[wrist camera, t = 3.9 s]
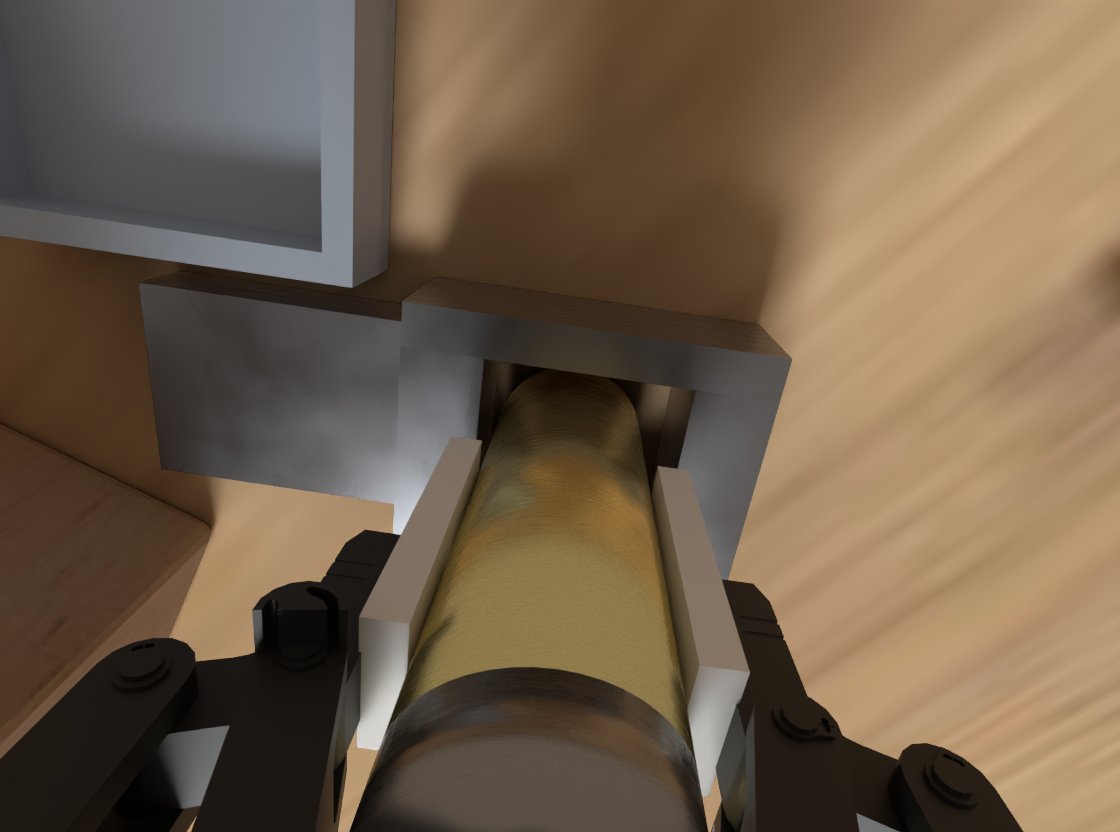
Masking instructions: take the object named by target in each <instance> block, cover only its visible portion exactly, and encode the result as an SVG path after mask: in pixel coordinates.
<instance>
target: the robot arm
mask: <svg viewBox="0 0 1120 832" xmlns="http://www.w3.org/2000/svg"><path fill="white" fill-rule="evenodd" d="M481 444H482V441H481V440H474V439H467V438H460V437H453V436H451V438H450V440H449V442H448V444H447V446H446V448H445V450H444V451H443V453H442V455H441V457H440V459H439V461H438V463H437V465H436V467H435V469H434V471H433V473H432V475H431V477H430V479H429V481H428V483H427V485H426V487H425V489H424V491H423V493H422V495H421V497H420V498H419V500H418V502H417V504H416V506H415V508H414V510H413V512H412V514H411V516H410V518H409V520H408V522H407V524H406V526H405V528H404V530H403V532H402V534H401V535H398V534H391V533H384V532H377V531H370V530H364V531H363V532H361V533H360V534H358V535H357V536H355V537H354V538H352V539H351V540H349V541H348V542H346V543H345V545H344V546H343V548H342V550H341V551H340V553H339V554H338V556H337V557H336V559H335V563H333V564H332V565H331V567H330V568H329V570H328V571H327V573H326V577H325V576H324V577H323V579H322V581H321V582H313V581H305V582H296V583H290V584H287V585H285V586H282V587H279V588H276V589H274V590H272V591H271V592H269V593H268V594H267V595H265V596H264V597H262V598H261V599H260V600H259V602H258V603H257V604H256V606H255V607H254V609H253V610H252V611H253V626H254V641H255V653H252V654H249V655H245V656H239V657H234V658H225V659H216V660H207V661H197V662H196V660H195V652H194V651H193V650H192V649H191V648H190V647H189V645H188V644H187V643H185V642H182V641H179V640H176V639H173V638H151V639H146V640H142V641H137V642H133V643H130V644H128V645H126V646H124V647H122V648H119V649H117V650H115V651H113V652H111V653H110V654H109V655H107V656H106V657H105V658H103V659H102V660H101V661H99V662H98V663H97V664H96V665H95V666H94V667H93V668H92V669H91V670H90V671H89V672H88V673H87V674H86V675H85V676H84V677H82V678H81V679H80V680H79V681H78V682H77V683H76V684H75V685H74V686H73V687H72V688H71V689H70V690H69V691H68V692H67V693H66V694H65V695H64V696H63V697H62V698H61V699H60V700H59V701H58V702H57V703H56V704H55V705H54V706H53V707H52V708H51V709H50V710H49V711H48V712H47V713H46V714H45V715H44V716H43V717H42V718H41V719H40V720H39V721H38V722H37V723H36V724H35V725H34V726H33V727H32V728H31V729H30V730H29V731H28V732H27V733H26V734H25V735H24V736H23V737H22V738H21V739H20V740H19V741H18V742H17V743H16V744H15V745H14V746H13V747H12V748H11V749H10V750H9V751H8V752H7V753H6V754H5V755H4V756H3V757H2V758H1V759H0V832H187V830H188V829H189V827H190V825H191V824H192V822H193V821H194V819H195V817H196V816H197V817H196V820H195V823H194V826H193V828H192V831H191V832H338V826H339V819H340V813H341V806H342V799H343V793H344V786H345V779H346V773H347V750H348V748H349V745H350V743H351V740H352V738H353V735H354V733H355V731H356V728H357V747H358V748H366V749H373V750H379V749H380V746H381V743H382V740H383V737H384V735H385V732H386V729H387V726H388V724H389V721H390V718H391V715H392V713H393V710H394V707H395V704H396V702H397V699H398V696H399V693H400V691H401V688H402V685H403V682H404V679H405V677H406V674H407V671H408V668H409V666H410V663H411V660H412V657H413V655H414V652H415V649H416V646H417V644H418V641H419V638H420V635H421V633H422V630H423V627H424V624H425V622H426V619H427V616H428V613H429V610H430V608H431V605H432V602H433V599H434V597H435V594H436V591H437V588H438V586H439V583H440V580H441V577H442V575H443V572H444V569H445V566H446V564H447V561H448V558H449V555H450V552H451V550H452V547H453V544H454V541H455V539H456V536H457V533H458V530H459V528H460V525H461V522H462V519H463V517H464V514H465V511H466V508H467V506H468V503H469V500H470V497H471V495H472V492H473V489H474V486H475V483H476V481H477V478H478V475H479V465H480V455H481ZM651 501H652V507H653V512H654V518H655V524H656V530H657V536H658V542H659V547H660V553H661V559H662V565H663V571H664V577H665V583H666V588H667V594H668V600H669V606H670V612H671V618H672V624H673V629H674V635H675V641H676V647H677V653H678V659H679V664H680V670H681V676H682V682H683V688H684V694H685V700H686V705H687V711H688V717H689V723H690V729H691V735H692V741H693V746H694V752H695V758H696V764H697V770H698V776H699V781H700V787H701V793H702V796H705V797H709V794H710V791H711V788H712V785H713V782H714V779H715V776H716V773H717V778H718V783H719V788H720V793H721V798H722V801H721V804H720V807H719V810H718V812H717V815H716V818H715V821H714V824H713V827H712V830H711V832H1023V830H1022V829H1021V827H1020V826H1019V824H1018V823H1017V821H1016V820H1015V818H1014V817H1013V815H1012V814H1011V812H1010V811H1009V809H1008V808H1007V806H1006V804H1005V803H1004V801H1003V800H1002V798H1001V797H1000V795H999V794H998V792H997V791H996V789H995V788H994V787H993V786H992V784H991V783H990V782H989V781H988V780H987V778H986V777H985V776H984V775H983V774H982V773H981V772H980V771H979V770H978V769H976V768H975V767H974V766H973V765H971V764H970V763H969V762H968V761H966V760H965V759H964V758H962V757H960V756H958V755H956V754H955V753H953V752H951V751H949V750H947V749H945V748H942V747H938V746H935V745H931V744H927V743H923V744H911V745H910V746H909V747H907V748H906V749H904V750H903V751H902V753H901V755H900V757H899V759H898V760H897V759H894V758H892V757H889V756H887V755H884V754H882V753H879V752H877V751H874V750H872V749H869V748H867V747H864V746H862V745H860V744H858V743H856V742H853V741H851V740H849V739H847V738H846V737H844V736H843V735H842V734H841V731H840V729H839V726H838V724H837V722H836V721H835V720H834V718H833V717H832V716H831V715H830V714H829V712H828V711H827V710H826V709H825V708H824V707H822V706H821V705H819V704H818V703H817V702H815V701H814V700H813V699H811V698H809V697H808V696H807V694H806V691H805V689H804V686H803V684H802V681H801V679H800V676H799V674H798V671H797V669H796V666H795V664H794V661H793V659H792V656H791V654H790V651H789V649H788V646H787V644H786V641H785V640H783V637H784V636H783V634H782V631H781V629H780V626H779V625H778V624H777V619H776V616H775V614H774V611H773V609H772V606H771V604H770V601H769V600H768V599H767V598H766V597H765V596H764V595H763V594H762V593H761V592H760V591H759V590H758V588H757V587H756V586H755V585H754V584H751V583H744V582H737V581H730V580H723V579H721V576H720V573H719V569H718V566H717V563H716V560H715V556H714V553H713V550H712V546H711V543H710V540H709V537H708V533H707V530H706V527H705V523H704V520H703V517H702V514H701V510H700V507H699V504H698V500H697V497H696V494H695V491H694V487H693V484H692V481H691V477H690V474H689V471H688V470H681V469H674V468H667V467H661V466H658V468H657V473H656V477H655V482H654V486H653V491H652V495H651Z"/></svg>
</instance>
